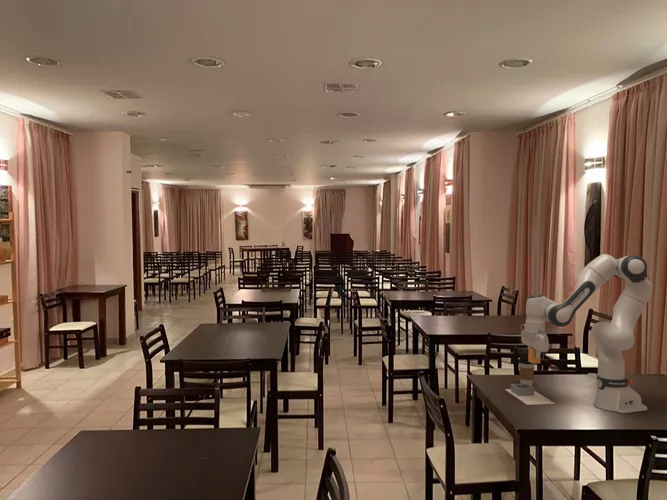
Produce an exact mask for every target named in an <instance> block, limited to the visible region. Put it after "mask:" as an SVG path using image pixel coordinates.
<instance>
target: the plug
mask: <svg viewBox="0 0 667 500" xmlns="http://www.w3.org/2000/svg"><path fill="white" fill-rule="evenodd" d="M535 354H536V349H534V348H532V347H529V349H528V356H527V357H528V362H530V363H535V364H541V357H540V358H539V359H537V358H535Z"/></svg>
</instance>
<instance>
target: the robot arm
mask: <svg viewBox="0 0 667 500" xmlns="http://www.w3.org/2000/svg"><path fill="white" fill-rule="evenodd" d="M613 276H614V277H616V278H618V279H619V280H624V281H625V287H624V289H623V290H622V291H621V293H620V295H619V296H618V299H616V302H615V304H614V305H613V307H612V312H613V313H612V318H611V320H610V322H609V321H598V322H596V323H594V324H593V326H592V327H591V336H592V338H593V340H594V345H595V349H596V354H597V375H596V393H595V397H594V398H595V399H594V401H593V406H595V407H596V408H599V409H601V410H605V411H610V412H616V413H620V414H629V413H635V412H636V413H638V412H645V411H648V406H646V405H645V404H643V403H642V397H641V395H640V394H639V393H638V392H637V391H635V390H634V389H633V388H631V386H629V385H633V383H634V381H633V380H632V379H630V378H626V376H625V373H626V372H625V370H626V369H625V367H626V366H625V365H626V362H625V359H624V357H623V354H622V351H628V350H630V349H632V347H634V345H635V340H636V339H635V335H634V332H635V329H636V325H637V322H638V320H639V317H640V316H641V314H642V312H643V311H644V309H645V308H646V305H647V304H648V301H649V300H650V297H651V295H652V292H653V288H654V285H653V283H652V282H651V281H650V280H648V279H647V278H648V264H647V261H646V260H645V258H643V257H641V256H639V255H626V256H623V257H620V258H614V256H612V255H610V254H607V253H603V254H600V255H599V256H597V257H595V258H594V259H593V260H591V261H590V262H589V263H587V264H586V266H584V267H583V268H582V269H581V271H580V272H579V273H578V275H577V276H576V283H577V286H576V289H575V290H574V291H573V292H572V293H571V294H570V295H569V296H568V298H566V300H565V301H564V302H562V303H559V302H556V301H553V300H552V299H550V298H548V297H546V296H545V295H542V294H534V295H530V296H529V297H528V298H527V300H526V303H525V304H526V305H525V316H526V318H525V323H524V324H521V325H520V330H521V332H520V339H521V343H522V344H524V345H525V346H527V349H528V350H529V347H532V348H534V349H536V354H535V358H537V359H539V358H540V359H541V354H542V353H543V352H544V353H547V352H548V351H549V349H550V345H549V341H550V340H549V338H548V337H549V336H548V335H547V333H546V322H550V323H551V324H552V325H553V326H555V327H558V328H563V327H566V326H568V325H570V324H571V322H572V321H573V318H574V316H575V314H576V312H577V311H578V310H579V309H580V307H582V306H583V305H584V304H585V302H586V301H587V300H588V299H589V298H590V297H591V296H592V295H593V294H594V293H595V292H596V291H597V290H599V289H600V288H601V287H602V286H603V285H604V284H606V282H607V281H608V280H609V279H610V278H612V277H613Z"/></svg>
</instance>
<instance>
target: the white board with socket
mask: <svg viewBox="0 0 667 500" xmlns="http://www.w3.org/2000/svg"><path fill="white" fill-rule="evenodd" d="M504 390H505V391H506V392H508V393H509V394H511V395H512V396H514V397H515V398H517V399H518V400H520V401H521V402H523V403H524V404H526V405H527V406H529V405H532V406H533V405H553V404H554V405H555V404H556V403H555V402H554V401H552V400H550V399H549V398H547V397H545V396H544V395H542V394H540V393H539V392H537V391H536V390H535V388H534V387H533V386H530V385H528V384H520V383H510V388H509V389H507V388H505V389H504Z"/></svg>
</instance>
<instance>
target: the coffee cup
mask: <svg viewBox="0 0 667 500" xmlns="http://www.w3.org/2000/svg"><path fill="white" fill-rule="evenodd" d="M517 362H518V365H519V366H518V369H519V370H518V371H519V372H518V373H519V384H528V385H530V386H531V387H533V381H534V374H535V373H534V371H535V364H536V363H530V362H528V356H520V357H519V359H518V361H517Z"/></svg>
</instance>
